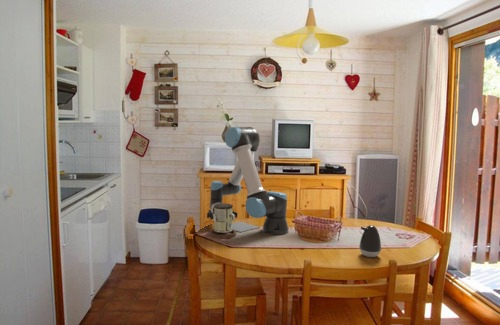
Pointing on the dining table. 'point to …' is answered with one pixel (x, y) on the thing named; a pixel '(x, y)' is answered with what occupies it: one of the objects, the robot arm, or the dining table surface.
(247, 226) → the slate mat
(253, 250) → the dining table surface
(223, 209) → the coffee can
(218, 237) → the walnut ring collar
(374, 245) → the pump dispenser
